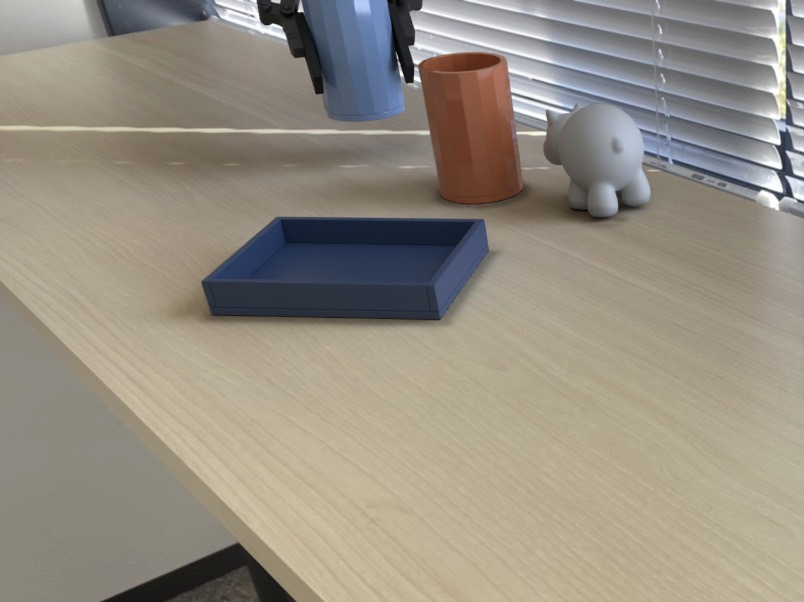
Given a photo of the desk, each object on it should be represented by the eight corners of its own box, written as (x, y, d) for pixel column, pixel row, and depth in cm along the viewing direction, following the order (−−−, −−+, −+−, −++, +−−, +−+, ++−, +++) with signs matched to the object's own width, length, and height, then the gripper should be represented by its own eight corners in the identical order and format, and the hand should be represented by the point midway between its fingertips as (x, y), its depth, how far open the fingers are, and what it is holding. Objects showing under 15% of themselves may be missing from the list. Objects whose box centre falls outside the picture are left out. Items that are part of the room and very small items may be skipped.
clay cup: (430, 203, 103) (406, 73, 96) (454, 176, 109) (433, 51, 102) (511, 204, 102) (493, 73, 96) (531, 177, 108) (515, 51, 102)
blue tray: (210, 315, 84) (200, 281, 83) (284, 247, 95) (276, 216, 93) (440, 319, 83) (434, 285, 81) (489, 250, 93) (484, 218, 92)
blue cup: (314, 121, 108) (285, -7, 102) (343, 100, 114) (317, -23, 108) (390, 122, 108) (366, -7, 101) (416, 101, 114) (394, -23, 107)
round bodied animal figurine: (589, 174, 108) (580, 79, 103) (664, 207, 101) (658, 106, 96) (522, 192, 105) (509, 94, 100) (594, 227, 97) (584, 123, 92)
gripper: (407, -116, 116) (471, 90, 113) (190, -102, 109) (253, 117, 107) (408, -176, 109) (477, 42, 106) (176, -165, 102) (243, 68, 99)
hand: (365, 79), depth 106 cm, fingers closed on blue cup, 7 cm apart
